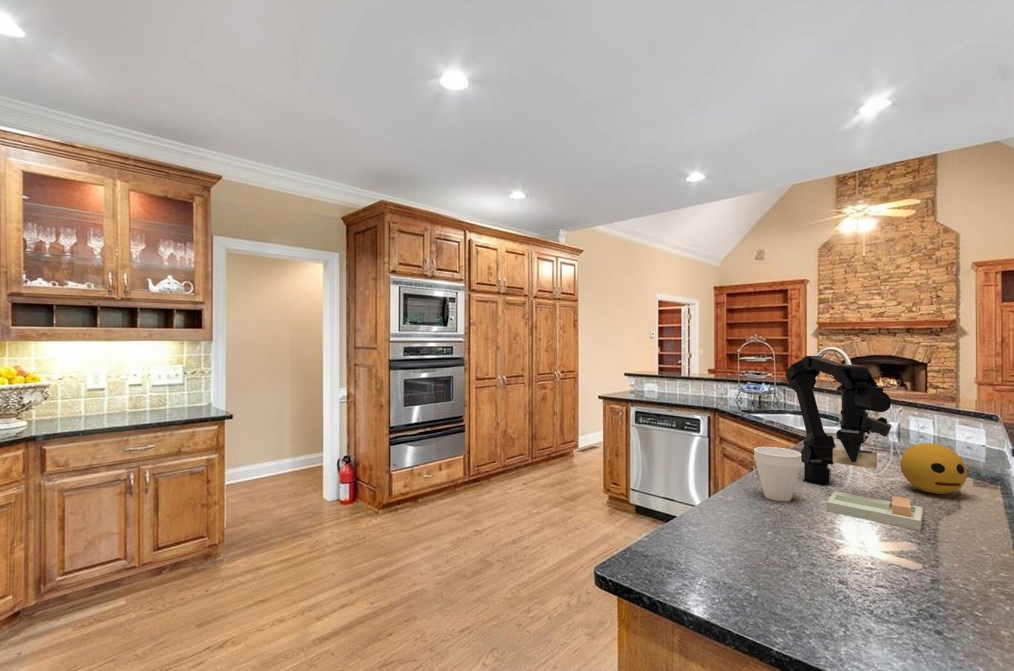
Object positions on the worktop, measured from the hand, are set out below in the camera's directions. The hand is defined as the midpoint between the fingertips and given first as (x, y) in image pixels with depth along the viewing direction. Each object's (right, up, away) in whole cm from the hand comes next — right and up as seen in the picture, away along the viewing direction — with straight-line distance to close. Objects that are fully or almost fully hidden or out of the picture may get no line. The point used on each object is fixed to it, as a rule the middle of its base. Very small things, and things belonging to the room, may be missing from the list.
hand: (854, 460), depth 134 cm
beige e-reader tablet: (0, -1, 0) cm, 1 cm away
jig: (-4, -11, -12) cm, 16 cm away
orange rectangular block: (0, -10, -16) cm, 18 cm away
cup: (-22, -11, +1) cm, 25 cm away
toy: (+29, -12, +6) cm, 32 cm away
